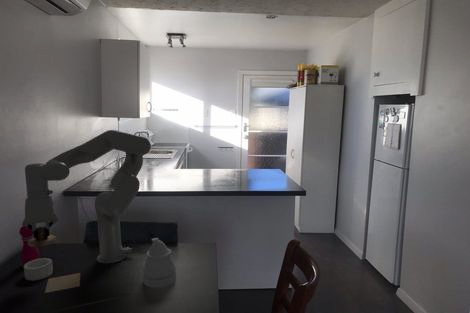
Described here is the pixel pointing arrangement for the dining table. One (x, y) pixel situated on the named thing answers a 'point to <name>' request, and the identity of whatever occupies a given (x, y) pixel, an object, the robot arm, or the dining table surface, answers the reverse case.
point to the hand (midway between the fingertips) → (41, 238)
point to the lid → (41, 238)
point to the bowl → (38, 269)
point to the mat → (63, 282)
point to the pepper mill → (28, 251)
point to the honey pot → (159, 266)
